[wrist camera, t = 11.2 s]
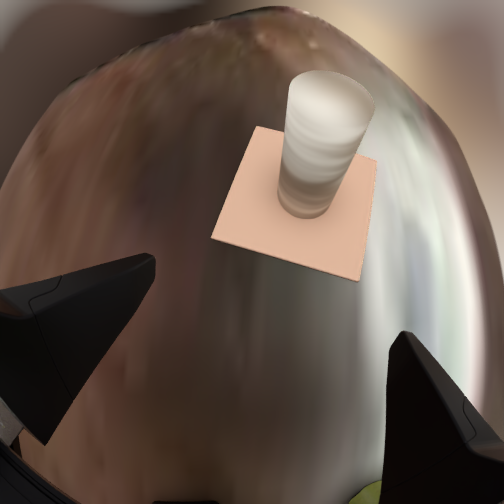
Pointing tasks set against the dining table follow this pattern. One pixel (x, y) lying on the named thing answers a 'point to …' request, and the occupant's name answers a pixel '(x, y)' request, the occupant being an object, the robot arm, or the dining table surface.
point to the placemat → (290, 227)
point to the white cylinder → (320, 139)
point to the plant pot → (368, 494)
